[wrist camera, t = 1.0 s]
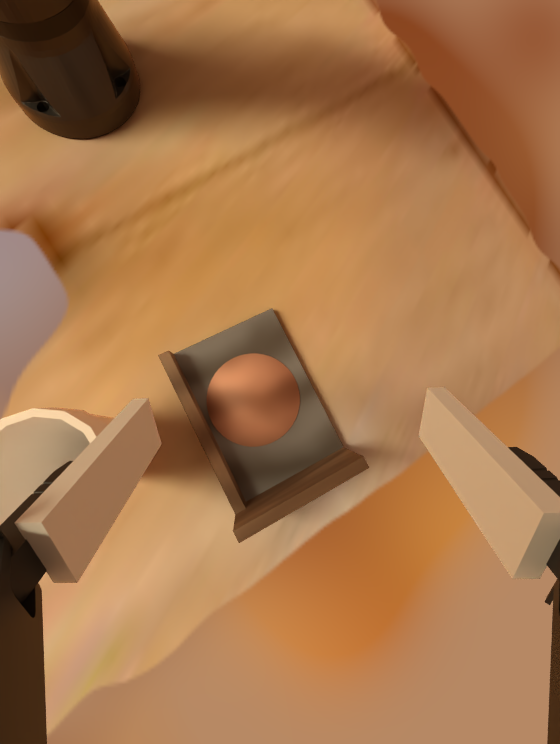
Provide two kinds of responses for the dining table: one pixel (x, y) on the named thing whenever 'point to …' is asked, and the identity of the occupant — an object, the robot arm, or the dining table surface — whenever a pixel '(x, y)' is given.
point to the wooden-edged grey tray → (259, 422)
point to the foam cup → (40, 449)
